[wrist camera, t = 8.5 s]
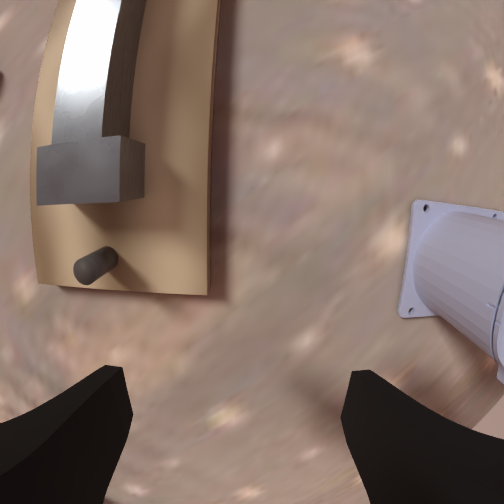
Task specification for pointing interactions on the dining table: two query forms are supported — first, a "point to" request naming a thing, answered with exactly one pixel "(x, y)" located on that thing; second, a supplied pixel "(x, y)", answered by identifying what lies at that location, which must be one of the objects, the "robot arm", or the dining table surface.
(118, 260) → the oak board
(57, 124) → the drawer pull handle
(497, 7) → the dining table surface
